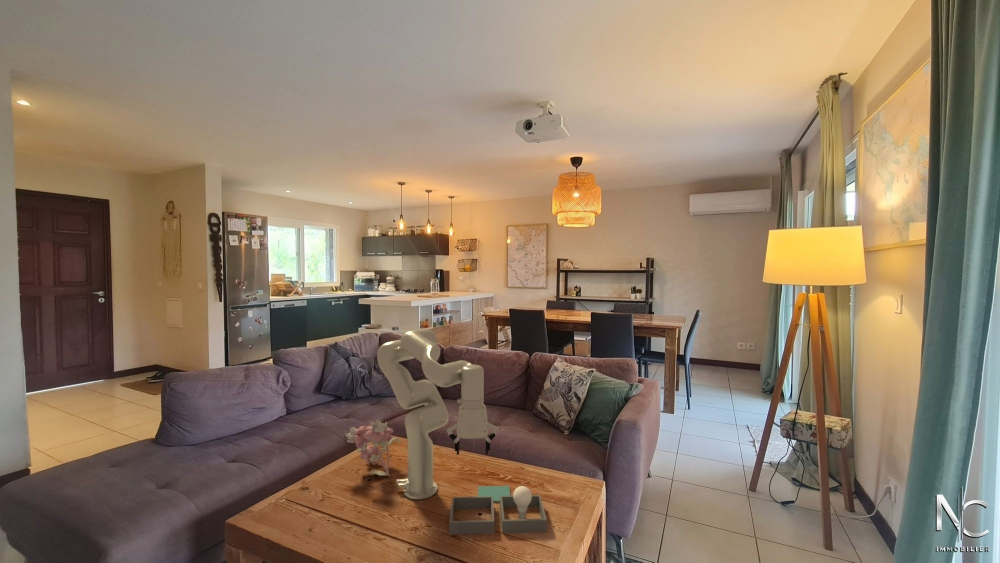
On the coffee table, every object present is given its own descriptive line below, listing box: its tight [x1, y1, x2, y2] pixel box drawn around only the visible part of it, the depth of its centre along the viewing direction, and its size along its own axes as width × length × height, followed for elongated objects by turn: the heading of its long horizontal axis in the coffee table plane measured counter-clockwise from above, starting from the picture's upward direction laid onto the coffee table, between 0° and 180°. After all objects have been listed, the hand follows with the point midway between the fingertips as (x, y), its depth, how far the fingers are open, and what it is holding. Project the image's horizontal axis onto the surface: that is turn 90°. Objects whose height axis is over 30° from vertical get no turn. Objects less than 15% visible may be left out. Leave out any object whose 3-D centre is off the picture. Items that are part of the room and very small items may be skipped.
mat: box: [477, 485, 511, 504], centre depth 155 cm, size 12×10×1 cm
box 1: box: [448, 496, 495, 536], centre depth 140 cm, size 14×14×4 cm
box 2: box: [499, 494, 548, 534], centre depth 141 cm, size 14×14×4 cm
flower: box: [344, 419, 403, 478], centre depth 173 cm, size 20×22×25 cm
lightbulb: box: [512, 485, 533, 519], centre depth 140 cm, size 6×6×11 cm
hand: (472, 452), depth 139 cm, fingers open, 9 cm apart
